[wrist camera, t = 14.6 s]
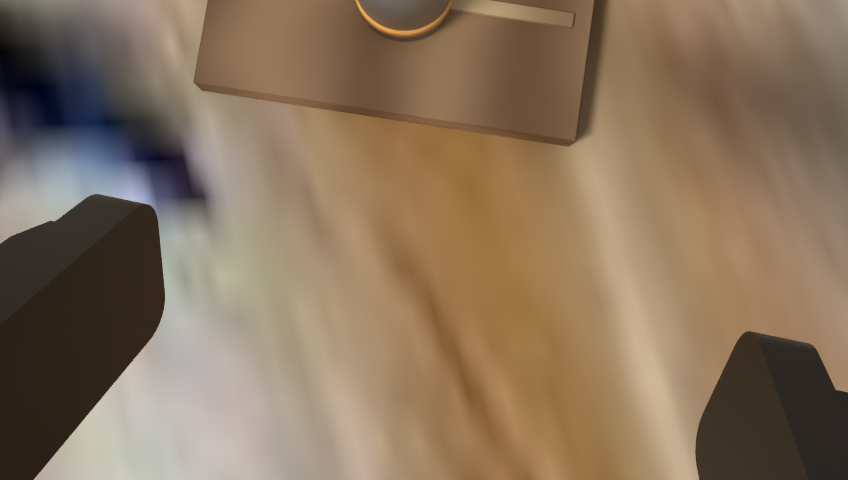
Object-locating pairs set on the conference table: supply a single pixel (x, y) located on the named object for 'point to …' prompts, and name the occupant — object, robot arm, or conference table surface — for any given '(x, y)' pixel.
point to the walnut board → (408, 63)
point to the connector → (404, 17)
